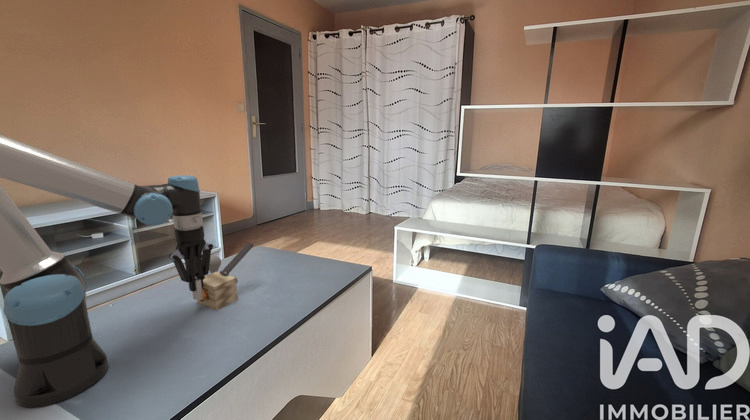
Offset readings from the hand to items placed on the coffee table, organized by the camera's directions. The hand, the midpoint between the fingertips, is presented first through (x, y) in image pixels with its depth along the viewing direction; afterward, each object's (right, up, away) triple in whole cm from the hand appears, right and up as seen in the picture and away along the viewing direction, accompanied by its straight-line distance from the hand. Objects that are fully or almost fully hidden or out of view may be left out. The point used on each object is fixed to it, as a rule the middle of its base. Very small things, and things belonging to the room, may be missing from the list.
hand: (198, 298), depth 101 cm
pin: (+3, 0, +7) cm, 7 cm away
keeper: (+8, +10, +12) cm, 18 cm away
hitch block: (+3, -3, +6) cm, 8 cm away
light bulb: (-6, +1, +22) cm, 23 cm away
